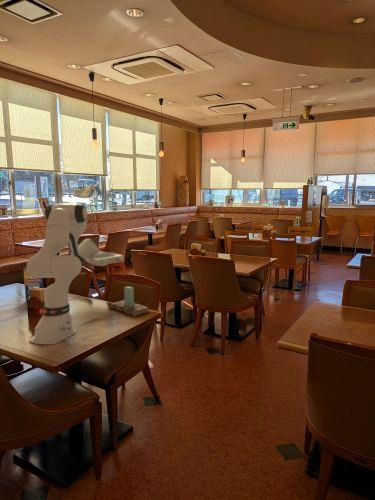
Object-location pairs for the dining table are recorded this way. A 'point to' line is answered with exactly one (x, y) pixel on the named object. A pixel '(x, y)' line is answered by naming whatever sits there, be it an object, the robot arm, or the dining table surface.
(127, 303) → the pale green tall block
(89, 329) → the dining table surface
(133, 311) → the grey slab with hole
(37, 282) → the beverage box
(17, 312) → the dining table surface
